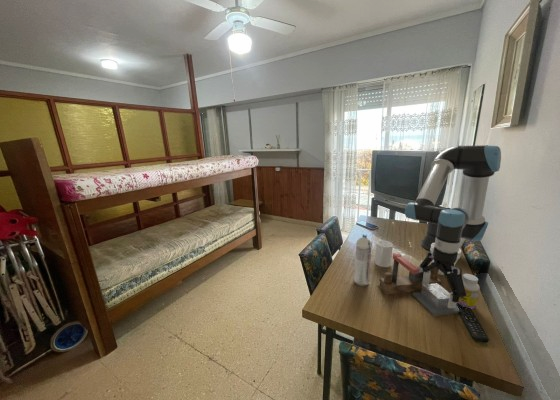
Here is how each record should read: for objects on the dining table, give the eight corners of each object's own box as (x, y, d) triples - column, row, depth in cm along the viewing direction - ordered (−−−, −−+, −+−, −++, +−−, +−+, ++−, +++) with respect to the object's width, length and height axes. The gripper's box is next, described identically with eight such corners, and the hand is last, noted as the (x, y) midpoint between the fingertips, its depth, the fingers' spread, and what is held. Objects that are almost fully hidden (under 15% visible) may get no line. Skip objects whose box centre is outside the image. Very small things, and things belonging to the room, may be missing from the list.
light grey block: (435, 293, 96) (437, 283, 95) (453, 308, 87) (455, 297, 86) (420, 294, 95) (422, 284, 94) (436, 309, 87) (438, 299, 85)
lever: (419, 273, 86) (420, 269, 86) (412, 274, 86) (412, 270, 85) (397, 256, 99) (398, 252, 98) (391, 257, 98) (391, 253, 98)
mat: (437, 292, 98) (438, 290, 98) (461, 312, 86) (462, 310, 86) (412, 294, 97) (412, 292, 97) (433, 315, 85) (434, 313, 85)
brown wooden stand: (430, 280, 106) (435, 252, 102) (440, 288, 100) (445, 258, 96) (379, 285, 104) (382, 256, 100) (386, 294, 98) (389, 263, 94)
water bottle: (361, 288, 102) (365, 239, 96) (350, 280, 108) (353, 233, 102) (371, 283, 105) (376, 235, 99) (360, 276, 111) (364, 230, 105)
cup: (430, 276, 109) (434, 251, 106) (424, 263, 120) (428, 240, 117) (460, 280, 105) (466, 255, 101) (451, 267, 116) (456, 243, 112)
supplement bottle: (450, 299, 94) (455, 272, 90) (464, 297, 94) (470, 271, 91) (464, 310, 87) (470, 282, 84) (479, 309, 88) (486, 281, 84)
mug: (386, 272, 114) (389, 251, 111) (370, 266, 119) (371, 246, 116) (392, 262, 122) (395, 242, 119) (377, 257, 128) (378, 238, 125)
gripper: (414, 236, 97) (408, 278, 102) (466, 267, 73) (455, 320, 78) (430, 235, 97) (423, 276, 103) (487, 265, 73) (474, 317, 79)
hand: (437, 295), depth 91 cm, fingers open, 13 cm apart
